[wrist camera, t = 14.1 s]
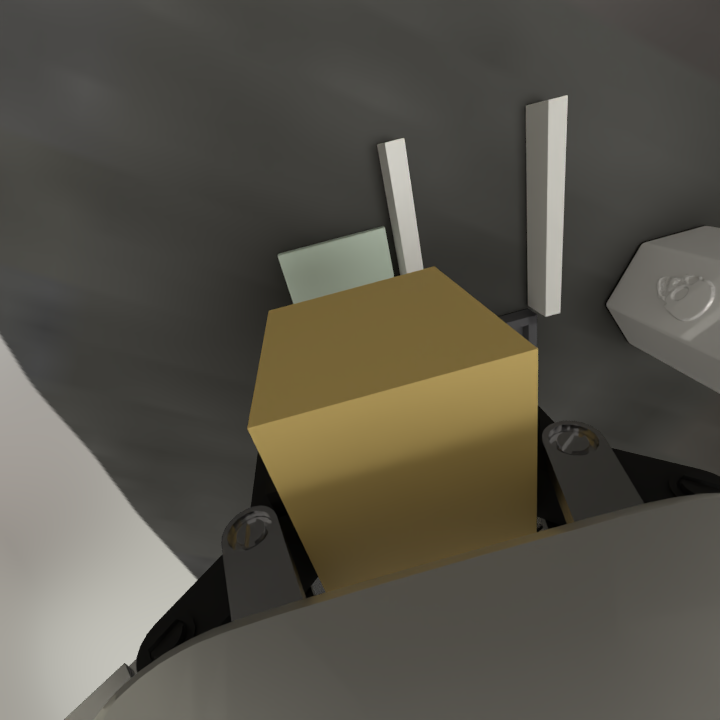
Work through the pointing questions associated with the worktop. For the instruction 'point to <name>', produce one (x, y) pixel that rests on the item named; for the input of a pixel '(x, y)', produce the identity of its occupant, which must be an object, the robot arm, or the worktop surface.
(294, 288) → the coaster
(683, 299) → the jar
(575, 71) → the worktop surface
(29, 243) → the worktop surface
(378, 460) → the block
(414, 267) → the channel
